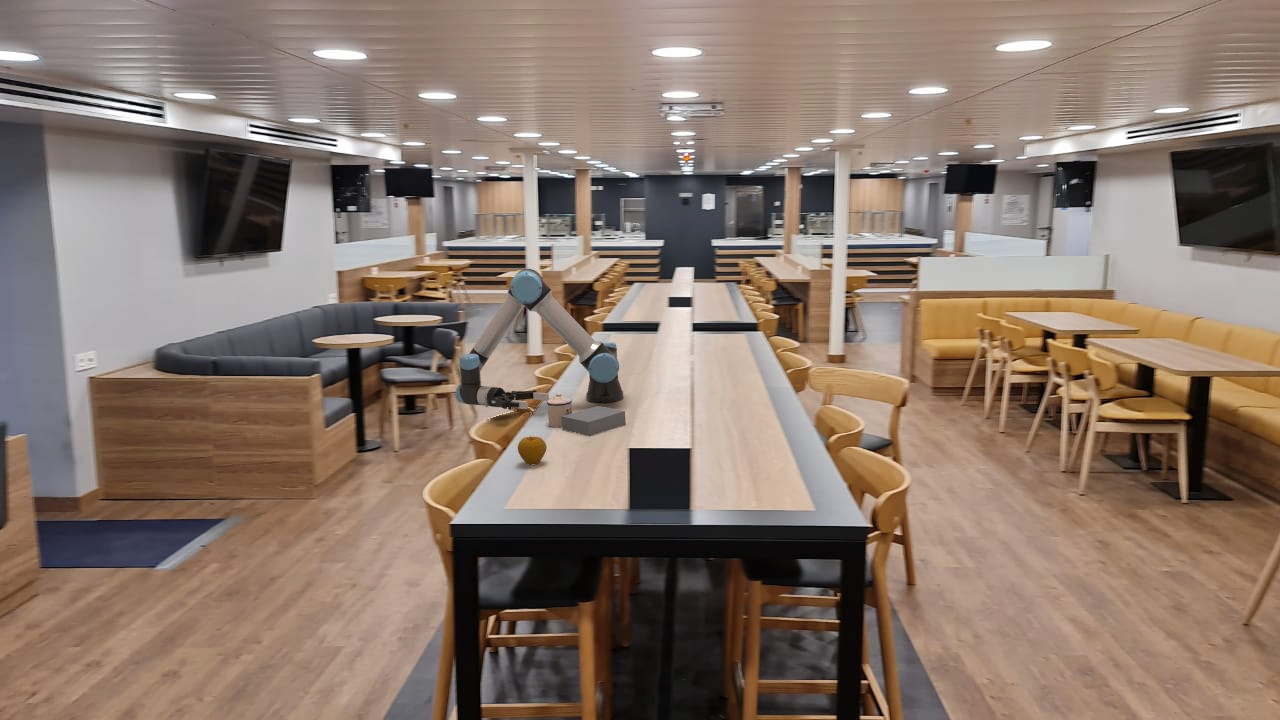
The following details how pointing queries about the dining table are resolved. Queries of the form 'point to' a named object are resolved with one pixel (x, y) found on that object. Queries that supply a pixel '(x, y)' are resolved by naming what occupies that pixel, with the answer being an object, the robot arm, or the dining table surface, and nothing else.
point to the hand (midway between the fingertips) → (537, 401)
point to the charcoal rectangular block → (593, 420)
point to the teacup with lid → (558, 409)
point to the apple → (532, 449)
